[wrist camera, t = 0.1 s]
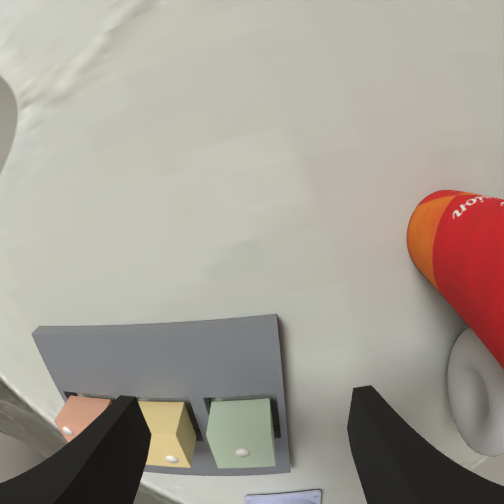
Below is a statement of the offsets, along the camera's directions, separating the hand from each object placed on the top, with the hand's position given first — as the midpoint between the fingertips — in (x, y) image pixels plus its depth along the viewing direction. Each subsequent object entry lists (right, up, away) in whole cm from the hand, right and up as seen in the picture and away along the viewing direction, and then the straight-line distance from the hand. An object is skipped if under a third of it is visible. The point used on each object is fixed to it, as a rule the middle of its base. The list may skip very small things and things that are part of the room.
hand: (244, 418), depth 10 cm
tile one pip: (0, -7, +12) cm, 13 cm away
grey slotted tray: (-6, -7, +13) cm, 16 cm away
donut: (+16, -2, +11) cm, 20 cm away
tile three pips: (-12, -8, +12) cm, 19 cm away
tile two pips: (-6, -7, +12) cm, 15 cm away
